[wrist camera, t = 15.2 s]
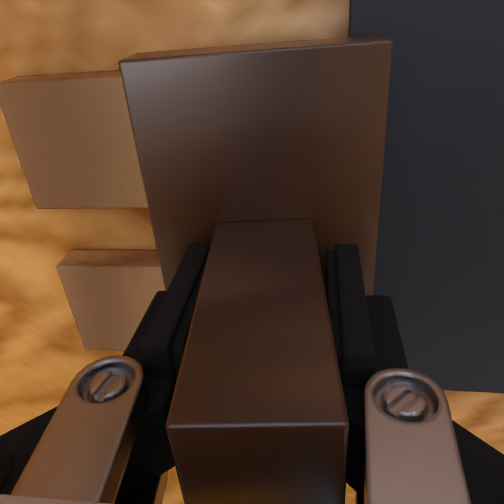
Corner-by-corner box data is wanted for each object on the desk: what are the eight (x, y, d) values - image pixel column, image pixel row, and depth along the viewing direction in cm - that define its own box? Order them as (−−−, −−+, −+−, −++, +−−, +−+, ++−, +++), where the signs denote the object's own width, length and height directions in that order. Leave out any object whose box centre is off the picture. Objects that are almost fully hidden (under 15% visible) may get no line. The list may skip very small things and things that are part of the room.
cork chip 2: (172, 249, 16) (162, 267, 15) (188, 333, 18) (180, 354, 17) (71, 249, 17) (55, 265, 16) (97, 330, 19) (84, 350, 18)
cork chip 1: (138, 69, 13) (122, 75, 12) (161, 194, 15) (150, 208, 14) (16, 76, 14) (-9, 83, 13) (54, 195, 16) (35, 209, 15)
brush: (364, 29, 12) (570, 105, 4) (348, 360, 17) (413, 672, 9) (153, 45, 12) (-86, 145, 4) (206, 364, 18) (152, 666, 10)
